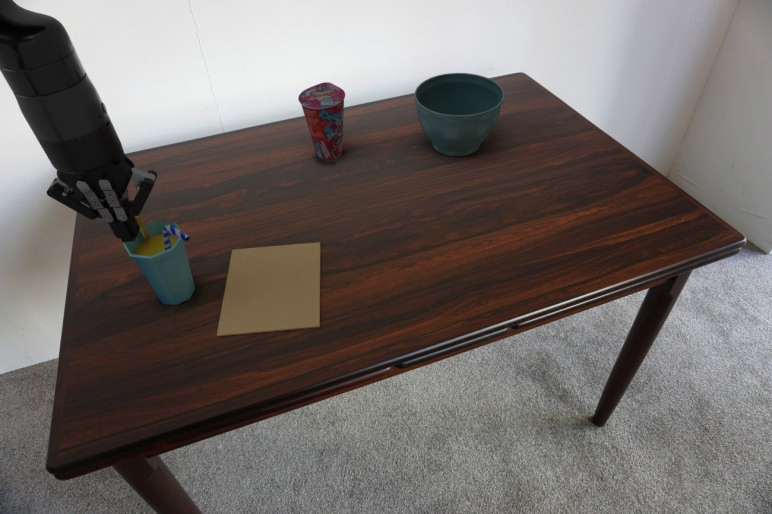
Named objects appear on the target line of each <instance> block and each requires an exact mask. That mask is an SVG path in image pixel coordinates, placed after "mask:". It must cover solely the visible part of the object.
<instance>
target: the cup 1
mask: <svg viewBox="0 0 772 514" xmlns="http://www.w3.org/2000/svg"><path fill="white" fill-rule="evenodd" d="M135 218H136V220H137V222H138V224H139V226H140V231H139V233H138V236H137V237H136V239H135V241H132V242H123V246H124V248H125V250H126V253H127V254H128V255H129V257H130V259H131V260H132V261H133V262H136V264H137V265H138V267H139V268H140V271H141V272H142V273H143V275H144V277H145V279H146V280H147V281H148V283H149V284H150V286H151V287H152V289H153V290H154V292H155V294H156V296H157V297H158V298H159V300H160V302H161V303H162V304H163V305H171V306H177V305H180V304H181V303H184V302H185V301H189V300H190V299H191V297H192V295H193V293H194V292H195V290H196V286H195V282H194V278H193V273H192V270H191V266H190V262H189V257H188V255H187V252H186V247H185V244H184V242H185V243H187V242H188V241H190V239H191V237H190V236H189V235H188V234H186V233H185V232H183V231H182V229H181V228H180V227H179V225H178V223H177V222H170V221H160V220H154V221H151V222H149V223H146V224H144V223H143V221H142V219H141V218H140V215H138V216H135Z"/></svg>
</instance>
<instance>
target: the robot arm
mask: <svg viewBox="0 0 772 514" xmlns="http://www.w3.org/2000/svg"><path fill="white" fill-rule="evenodd" d="M0 73H1V74H2V76H3V78H4V80H5V81H6V83H7V85H8V86H9V88H10V90H11V91H12V93H13V95H14V98H15V99H16V102H17V105H18V107H19V110H20V112H21V114H22V116H23V117H24V119H25V122H26V123H27V125H28V126H29V128H30V130H31V131H32V133H33V135H34V136H35V138H36V140H37V141H38V144H39V145H40V147H41V148H42V150H43V152H44V153H45V155H46V157H47V159H48V160H49V162H50V164H51V165H52V167H53V168H54V169H55V170H56V177H55V178H54V179H53V180H52V181H51V184H50V185H49V187H48V188H47V190H46V195H47V196H48V197H49V198H51V199H53V200H55V201H57V202H58V203H60V204H62V205H64V206H66V207H67V208H69V209H71V210H73V211H74V212H75V213H78V214H80V215H81V216H83V217H85V218H87V219H89V220H93V221H94V220H97V218H98V219H102V220H103V221H104V222H106V223H107V224H108V225H109V227H110V229H111V231H112V234H113V235H114V237H115V238H116V239H118V240H120V241H121V242H122V243H125V242H132V241H135V239H136V237H137V236H138V233H139V231H140V226H139V224H138V222H137V220H136V218H135V216H140V214H141V212H142V210H143V209H144V207H145V205H146V203H147V200H148V198H149V196H150V194H151V192H152V190H153V189H154V186H155V183H156V181H157V178H158V172H157V171H155V170H153V169H149V170H147V171H144V170H141V169H139V168H138V167H135V163H134V161H132V159H130V158H129V157H128V156H127V155H126V153H125V150H124V147H123V145H122V141H121V140H120V137H119V135H118V133H117V131H116V128H115V126H114V125H113V124H114V123H113V122H112V120H111V118H110V115H109V114H108V111H107V107H106V105H105V102H103V100H102V98H101V96H100V94H99V92H98V90H97V88H96V86H95V85H94V83H93V82H92V80H91V79H90V77H89V75H88V73H87V72H86V70H85V67H84V65H83V63H82V61H81V58H80V57H79V54H78V52H77V50H76V48H75V46H74V43H73V41H72V39H71V36H70V35H69V33H68V31H67V30H66V27H65V26H64V25H63V24H62V22H61V21H60V20H58V19H57V18H56V17H54V16H51V15H49V14H45V13H41V12H38V11H37V12H36V11H33V10H29V9H26V8H25V7H22V6H20V5H19V4H17V3H16V2H15V0H0ZM131 180H133V181H134V183H133V185H134V187H135V190H136V191H137V192H136V194H135V195H134V198H133V199H132V200H131V198H130V196H129V189H128V187H129V184H130V181H131Z"/></svg>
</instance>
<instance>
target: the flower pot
mask: <svg viewBox="0 0 772 514" xmlns="http://www.w3.org/2000/svg"><path fill="white" fill-rule="evenodd" d="M504 99H505V91H504V89H503V87H502V86H501V85H500V83H498V82H497V81H495V80H493V79H491V78H489V77H488V76H487V77H486V76H484V75H479V74H474V73H468V72H450V73H442V74H438V75H435V76H431V77H429V78H427V79H425V80H424V81H422V82H421V83H419V85H418V86H416V89H415V91H414V101H415V106H416V107H415V108H416V114H417V118H418V121H419V124H420V126H421V128H422V130H423V132H424V135H426V137H427V138H428V139H429V141H431V145H432V147H433V148H434V150H436V151H437V152H438V153H440V154H442V155H445V156H449V157H466V156H469V155H472V154H473V153H475V152H477V151H478V150H479V149H480V147H481V144H482V143H483V142H484V141H485V140H486V139H487V138H488V137H489V135H490V134H491V132H492V131H493V129H494V127H495V126H496V123H497V121H498V119H499V116H500V112H501V108H502V104H503V102H504Z"/></svg>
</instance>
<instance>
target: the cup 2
mask: <svg viewBox="0 0 772 514" xmlns="http://www.w3.org/2000/svg"><path fill="white" fill-rule="evenodd" d="M345 98H346V92H345V90H344V89H342V87H339V86H337V85H336V84H334V83H332V82H329V81H327V82H326V81H325V82H321V83H318V84H314V85H313V86H310V87H307V88H306V89H303V90H302V91H301V92H300V93H299V95H298V99H297V100H298V102H299V104H300V105H301V108H302V112H303V115H304V118H305V122H306V125H307V128H308V131H309V134H310V135H309V136H310V138H311V141H312V144H313V147H314V150H315V155H316V156H317V157H318V158H319V159H321V160H326V161H329V160H335V159H338V158H339V157H340V156H342V154H343V148H344V147H343V145H344V144H343V142H344V117H345V116H344V115H345V114H344V112H345Z"/></svg>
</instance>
